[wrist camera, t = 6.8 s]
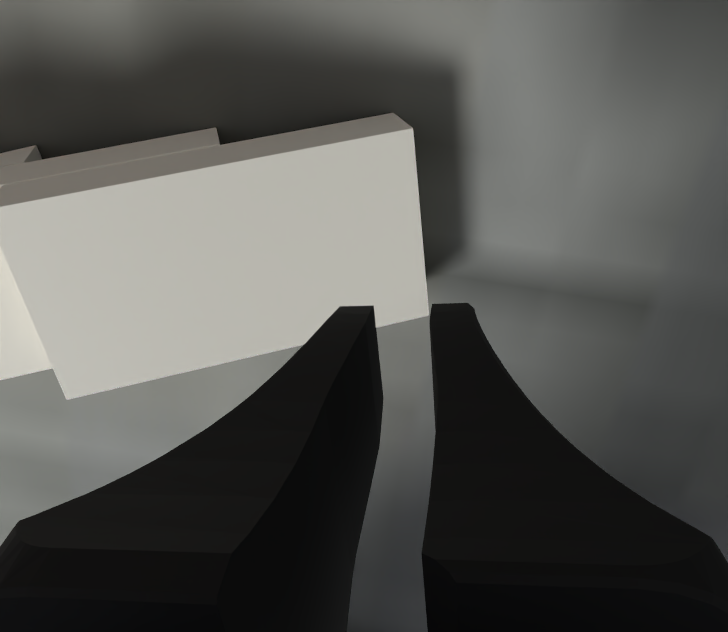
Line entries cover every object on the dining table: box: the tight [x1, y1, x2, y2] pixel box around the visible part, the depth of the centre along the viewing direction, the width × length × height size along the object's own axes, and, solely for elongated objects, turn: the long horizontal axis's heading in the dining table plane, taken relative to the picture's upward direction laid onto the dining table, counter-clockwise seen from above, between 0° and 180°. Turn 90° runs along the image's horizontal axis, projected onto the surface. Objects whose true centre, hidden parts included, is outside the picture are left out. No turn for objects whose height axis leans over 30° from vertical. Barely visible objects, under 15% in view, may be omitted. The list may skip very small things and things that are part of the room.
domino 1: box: [0, 127, 220, 380], centre depth 17 cm, size 2×5×9 cm
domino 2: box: [0, 113, 429, 400], centre depth 16 cm, size 2×5×9 cm
